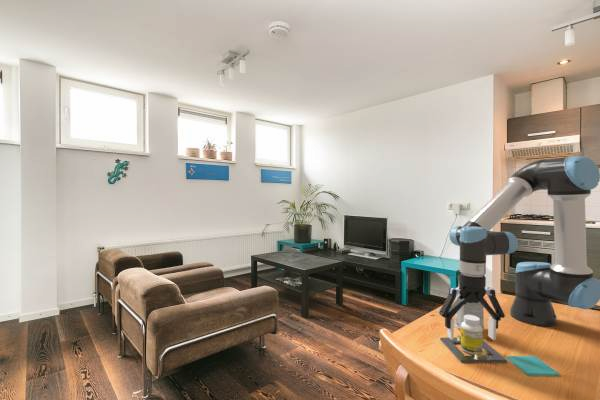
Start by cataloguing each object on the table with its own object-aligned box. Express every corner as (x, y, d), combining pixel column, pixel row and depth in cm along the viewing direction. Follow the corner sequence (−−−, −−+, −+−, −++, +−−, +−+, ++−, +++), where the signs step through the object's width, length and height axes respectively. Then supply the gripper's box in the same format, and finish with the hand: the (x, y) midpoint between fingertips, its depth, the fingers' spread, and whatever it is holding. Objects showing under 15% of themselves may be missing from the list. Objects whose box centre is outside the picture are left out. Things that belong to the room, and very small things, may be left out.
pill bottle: (462, 343, 104) (463, 312, 103) (483, 349, 100) (484, 316, 99) (458, 351, 99) (459, 318, 98) (480, 357, 95) (481, 323, 94)
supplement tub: (488, 329, 114) (488, 291, 113) (475, 336, 108) (476, 296, 108) (462, 320, 122) (463, 284, 121) (449, 326, 116) (449, 289, 116)
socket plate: (480, 339, 106) (480, 334, 106) (507, 362, 92) (507, 356, 92) (440, 339, 106) (440, 334, 106) (461, 362, 92) (461, 356, 92)
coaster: (535, 357, 94) (535, 356, 94) (559, 375, 85) (559, 373, 85) (506, 357, 95) (506, 356, 95) (527, 375, 86) (527, 373, 86)
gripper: (439, 277, 95) (438, 343, 95) (518, 277, 94) (517, 343, 95) (429, 270, 102) (428, 332, 103) (503, 271, 102) (501, 332, 103)
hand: (471, 337), depth 99 cm, fingers open, 13 cm apart
